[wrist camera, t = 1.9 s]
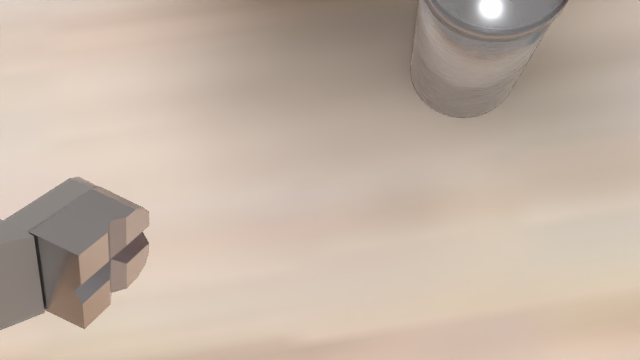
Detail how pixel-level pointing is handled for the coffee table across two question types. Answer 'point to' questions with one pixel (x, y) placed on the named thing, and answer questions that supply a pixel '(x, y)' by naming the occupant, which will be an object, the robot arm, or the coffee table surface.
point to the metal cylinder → (475, 50)
